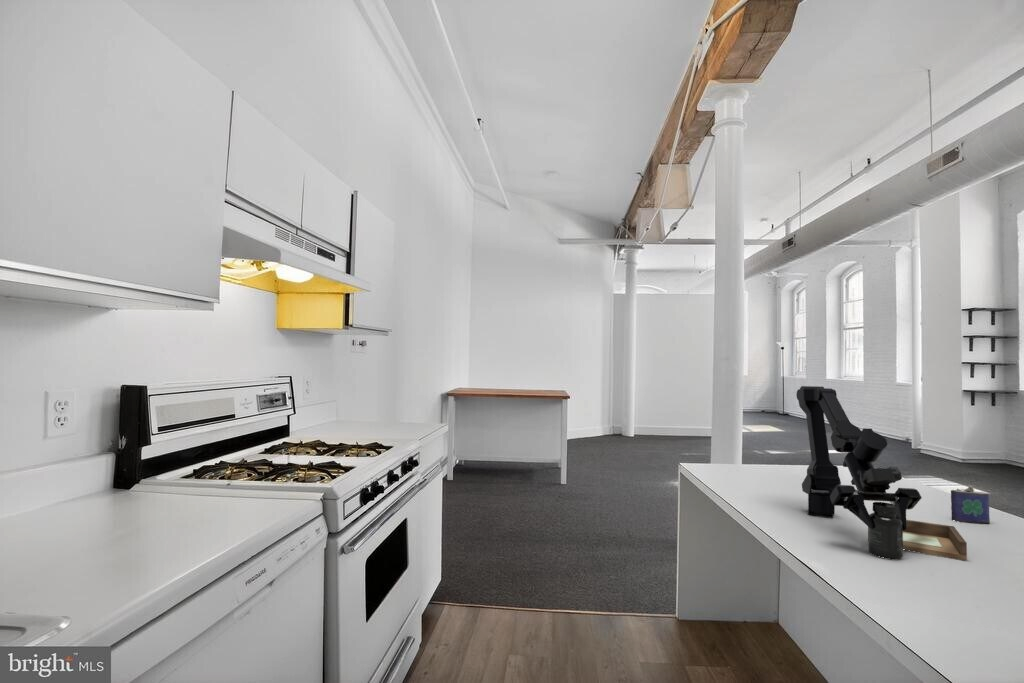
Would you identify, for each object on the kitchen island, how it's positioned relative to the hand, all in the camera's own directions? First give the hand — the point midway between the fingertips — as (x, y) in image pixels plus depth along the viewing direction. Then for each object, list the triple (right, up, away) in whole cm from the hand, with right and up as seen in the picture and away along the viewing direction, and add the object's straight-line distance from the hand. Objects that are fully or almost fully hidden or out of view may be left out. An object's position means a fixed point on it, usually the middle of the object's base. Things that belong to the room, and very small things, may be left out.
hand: (888, 528), depth 123 cm
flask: (+46, -9, +30) cm, 56 cm away
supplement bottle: (0, -7, +1) cm, 7 cm away
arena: (+14, -7, +9) cm, 18 cm away
